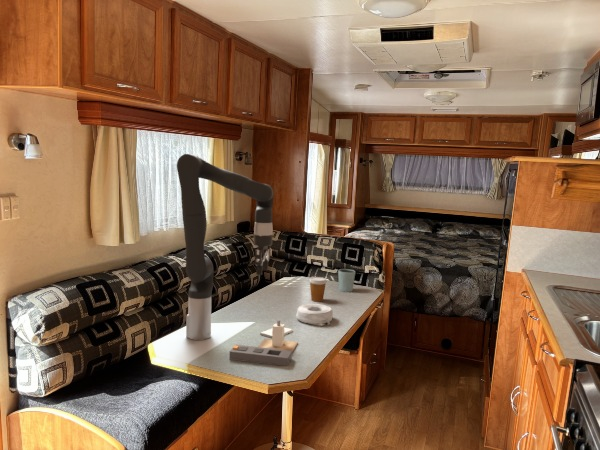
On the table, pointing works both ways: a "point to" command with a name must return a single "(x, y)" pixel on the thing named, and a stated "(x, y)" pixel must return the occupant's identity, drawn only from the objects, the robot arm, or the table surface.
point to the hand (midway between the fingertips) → (262, 272)
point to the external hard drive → (269, 332)
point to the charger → (278, 334)
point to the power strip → (261, 355)
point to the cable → (314, 314)
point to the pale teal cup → (346, 280)
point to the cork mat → (286, 346)
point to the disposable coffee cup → (317, 288)
